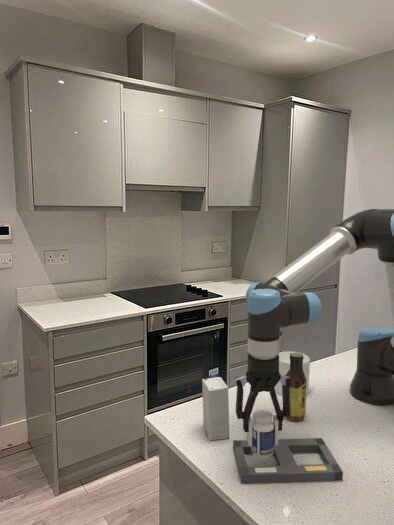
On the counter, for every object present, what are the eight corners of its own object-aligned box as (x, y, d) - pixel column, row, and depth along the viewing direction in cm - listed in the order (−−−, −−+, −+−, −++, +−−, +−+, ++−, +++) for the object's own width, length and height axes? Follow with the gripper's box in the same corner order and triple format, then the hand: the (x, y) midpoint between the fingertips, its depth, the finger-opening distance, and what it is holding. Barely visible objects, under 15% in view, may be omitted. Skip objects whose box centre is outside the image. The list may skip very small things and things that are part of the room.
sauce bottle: (305, 423, 120) (308, 359, 117) (284, 421, 121) (286, 358, 118) (304, 412, 126) (307, 351, 123) (284, 410, 128) (286, 350, 125)
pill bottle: (276, 447, 102) (277, 411, 101) (270, 460, 97) (271, 422, 96) (254, 442, 105) (254, 406, 103) (247, 454, 100) (248, 417, 98)
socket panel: (321, 445, 109) (321, 437, 109) (342, 480, 95) (342, 471, 95) (233, 448, 108) (233, 439, 108) (241, 483, 94) (241, 474, 94)
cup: (294, 401, 134) (295, 366, 132) (267, 389, 143) (268, 356, 141) (315, 391, 141) (316, 358, 139) (288, 380, 150) (289, 348, 148)
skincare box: (229, 438, 112) (230, 388, 110) (208, 441, 111) (209, 390, 109) (221, 423, 120) (221, 375, 118) (201, 425, 119) (201, 377, 117)
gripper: (297, 346, 101) (295, 432, 105) (222, 349, 100) (223, 435, 104) (306, 358, 94) (304, 450, 97) (226, 361, 93) (226, 453, 97)
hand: (262, 442), depth 101 cm, fingers closed on pill bottle, 6 cm apart
